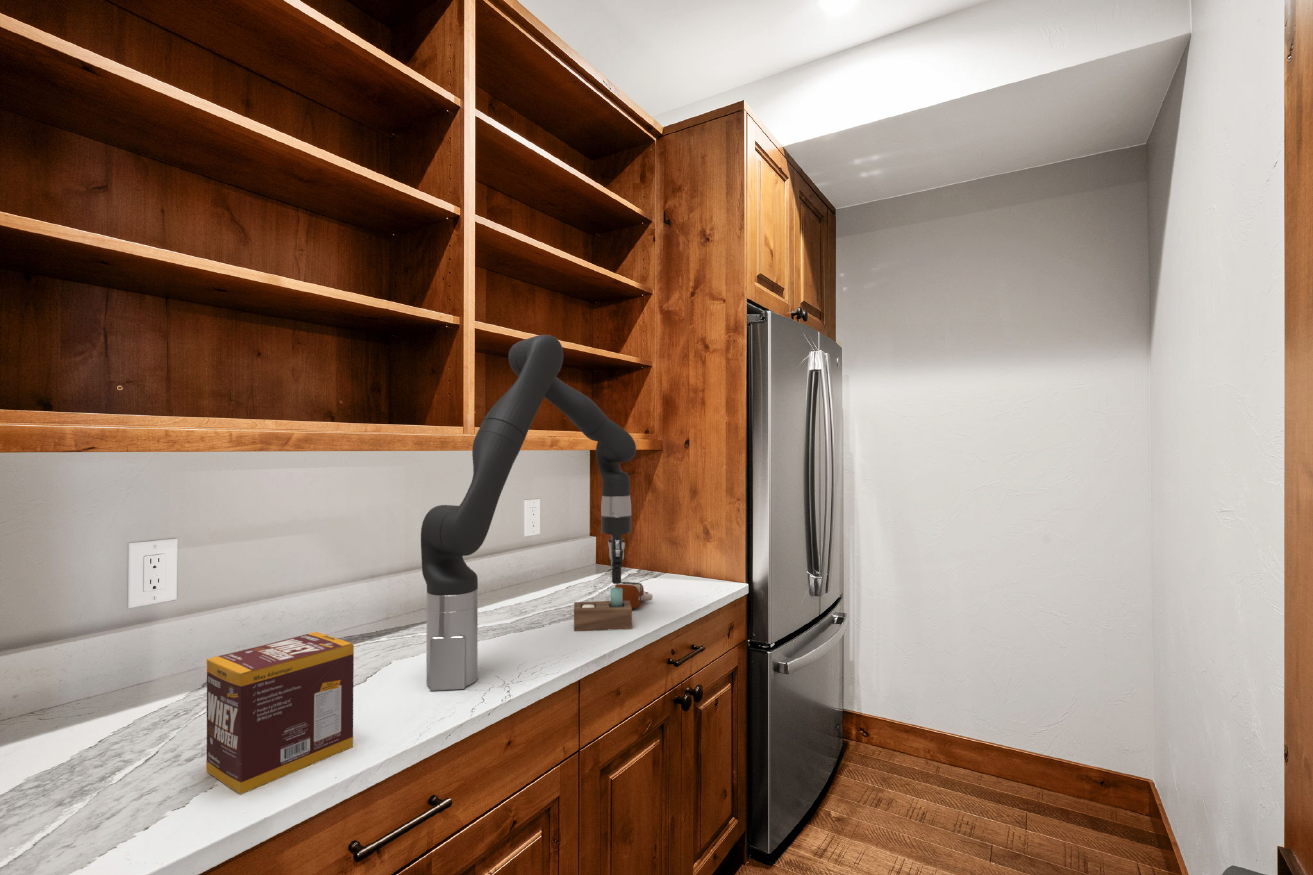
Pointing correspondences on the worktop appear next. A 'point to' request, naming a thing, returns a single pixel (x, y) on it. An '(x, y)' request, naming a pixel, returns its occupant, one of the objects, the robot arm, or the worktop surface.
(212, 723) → the supplement box
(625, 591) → the toy
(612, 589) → the peg teal
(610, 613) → the socket block
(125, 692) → the worktop surface
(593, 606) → the peg cream
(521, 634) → the worktop surface
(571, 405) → the robot arm
